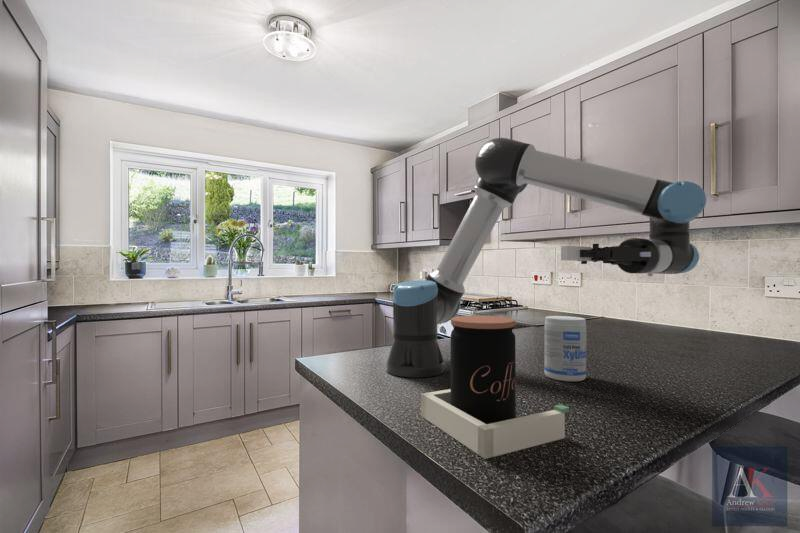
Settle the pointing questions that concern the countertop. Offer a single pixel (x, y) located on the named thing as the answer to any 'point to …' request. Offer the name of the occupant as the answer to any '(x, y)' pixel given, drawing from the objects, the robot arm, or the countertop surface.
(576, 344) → the supplement tub
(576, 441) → the countertop surface
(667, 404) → the countertop surface
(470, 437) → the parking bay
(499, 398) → the coffee jar
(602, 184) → the robot arm
